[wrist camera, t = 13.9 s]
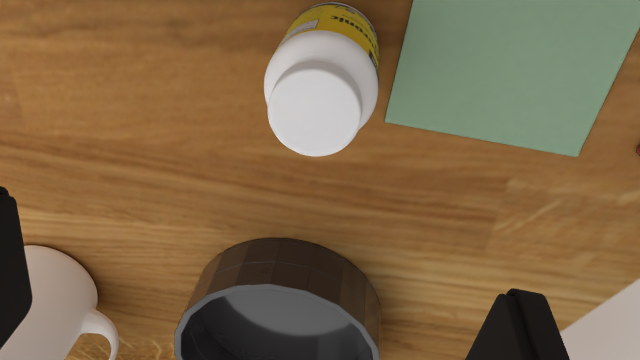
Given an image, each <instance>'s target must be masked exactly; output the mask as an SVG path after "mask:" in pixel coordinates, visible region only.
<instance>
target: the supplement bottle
mask: <svg viewBox="0 0 640 360" xmlns="http://www.w3.org/2000/svg"><path fill="white" fill-rule="evenodd" d="M378 87H379V45H378V39H377V36H376V33H375V30H374V28H373V26H372V25H371V23H370V22H369V20H368V19H367V18H366V17H365V16H364V15H363V14H362V13H361V12H359V11H358V10H356V9H355V8H353V7H351V6H348V5H346V4H342V3H336V2H327V3H321V4H318V5H315V6H312V7H310V8H309V9H307V10H305V11H304V12H303V13H301V14H300V15H299V16H298V17H297V18H296V19H295V21H294V22H293V23H292V25H291V26H290V28H289V29H288V31H287V33H286V34H285V36H284V38H283V40H282V41H281V43H280V45H279V46H278V48H277V50H276V51H275V53H274V55H273V56H272V58H271V60H270V62H269V65H268V67H267V70H266V74H265V79H264V94H265V99H266V103H267V105H268V119H269V123H270V126H271V128H272V130H273V132H274V134H275V135H276V136H277V138H278V139H279V140H280V141H281V142H282V143H283V144H284V145H285V146H287V147H288V148H290V149H291V150H293V151H295V152H297V153H300V154H303V155H308V156H326V155H330V154H333V153H336V152H338V151H340V150H341V149H343V148H344V147H346V146H347V145H348V144H349V143H350V142H351V141H352V140H353V138H354V137H355V135H356V133H357V131H358V130H359V129H360V128H361V127H362V126H363V125H364V124H365V123H366V122H367V121H368V119H369V118H370V116H371V114H372V112H373V110H374V108H375V105H376V101H377V96H378Z"/></svg>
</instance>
